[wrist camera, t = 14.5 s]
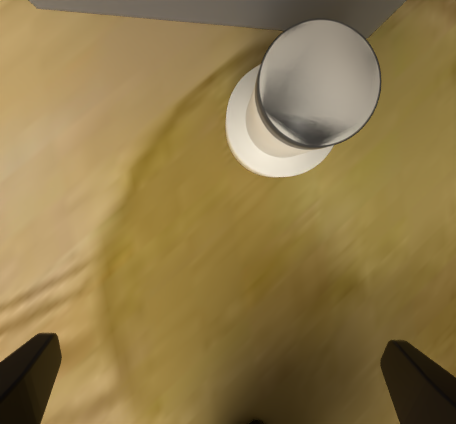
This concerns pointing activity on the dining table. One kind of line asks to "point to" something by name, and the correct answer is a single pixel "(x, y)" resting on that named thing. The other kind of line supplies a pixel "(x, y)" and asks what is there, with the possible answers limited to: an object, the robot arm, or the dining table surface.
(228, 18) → the compartment tray
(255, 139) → the plug
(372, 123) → the dining table surface
